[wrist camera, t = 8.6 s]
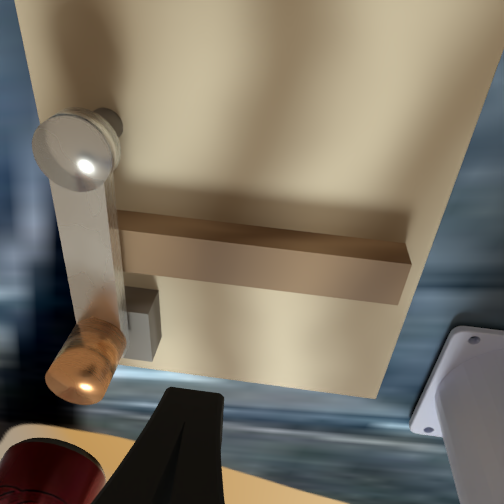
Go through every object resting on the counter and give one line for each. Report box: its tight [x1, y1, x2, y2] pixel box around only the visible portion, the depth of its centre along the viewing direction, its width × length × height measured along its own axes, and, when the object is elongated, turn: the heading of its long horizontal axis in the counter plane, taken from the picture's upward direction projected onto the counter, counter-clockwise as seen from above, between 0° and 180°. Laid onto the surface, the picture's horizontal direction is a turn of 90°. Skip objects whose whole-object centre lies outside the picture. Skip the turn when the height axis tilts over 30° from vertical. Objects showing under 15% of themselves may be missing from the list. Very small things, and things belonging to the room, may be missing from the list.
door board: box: [15, 0, 504, 399], centre depth 18 cm, size 15×18×3 cm
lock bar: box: [32, 107, 130, 405], centre depth 15 cm, size 10×2×3 cm, turn 175°
